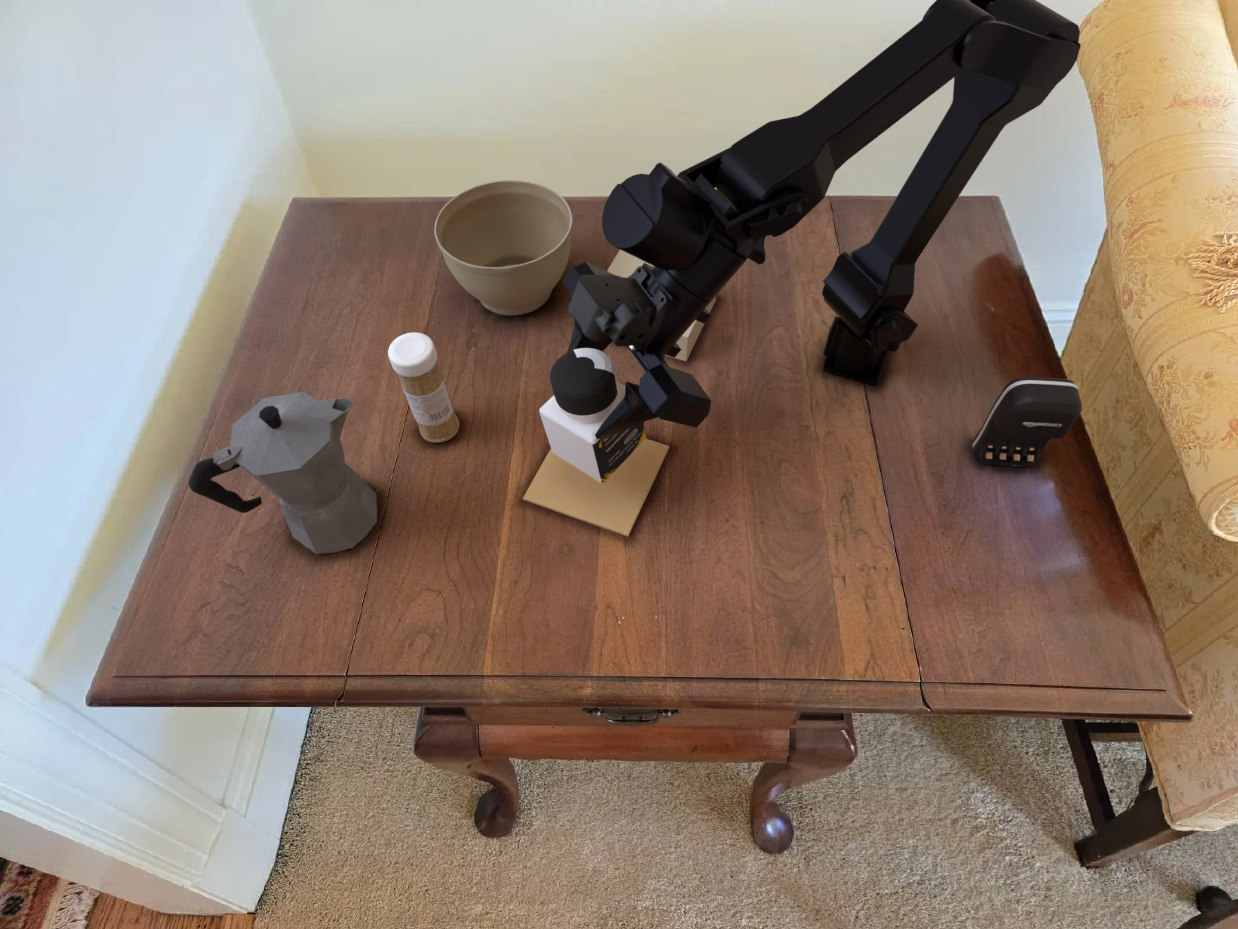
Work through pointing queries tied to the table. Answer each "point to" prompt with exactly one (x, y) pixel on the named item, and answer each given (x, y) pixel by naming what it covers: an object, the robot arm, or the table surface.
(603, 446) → the medicine bottle
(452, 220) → the planter bowl
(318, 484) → the coffeepot
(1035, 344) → the table surface
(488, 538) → the table surface
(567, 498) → the cork mat
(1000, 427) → the battery charger
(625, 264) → the push button box
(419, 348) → the sprinkles bottle
